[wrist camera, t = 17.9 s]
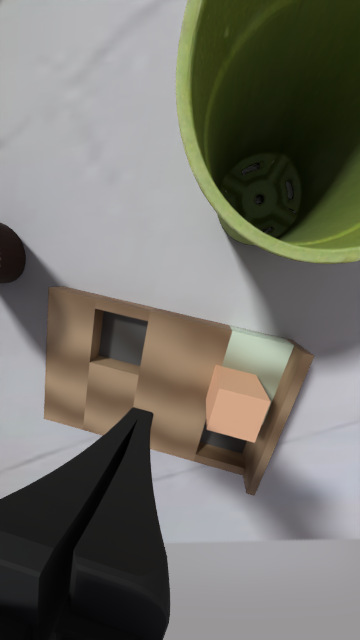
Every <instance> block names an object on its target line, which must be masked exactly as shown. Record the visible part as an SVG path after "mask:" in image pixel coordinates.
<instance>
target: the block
mask: <svg viewBox="0 0 360 640" xmlns="http://www.w3.org/2000/svg"><path fill="white" fill-rule="evenodd" d="M270 402H271V401H270V399H269V397H268V396H267V394H266V392H265V390H264V388H263V386H262V385H261V383H260V381H259V379H258V377H257V375H255V374H251V373H247V372H243V371H239V370H235V369H231V368H227V367H223V366H218V365H215V369H214V372H213V376H212V379H211V383H210V386H209V390H208V393H207V397H206V423H207V430H210V431H213V432H217V433H221V434H224V435H228V436H232V437H235V438H239V439H243V440H246V441H250V442H254V443H255V441H256V438H257V436H258V433H259V431H260V428H261V425H262V423H263V420H264V418H265V415H266V413H267V410H268V408H269V405H270Z"/></svg>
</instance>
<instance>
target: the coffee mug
mask: <svg viewBox="0 0 360 640" xmlns="http://www.w3.org/2000/svg"><path fill="white" fill-rule="evenodd" d="M25 260H26V257H25V251H24V247H23V244H22V242H21V240H20V239H19V237H18V236H17V234H16V233H15V232H14V231H13V230H12V229H11V228H9V227H8V226H6V225H4V224H2V223H0V284H1V283H8V282H12V281H14V280H16V279H17V278H19V277H20V275H21V274H22V272H23V270H24V267H25Z"/></svg>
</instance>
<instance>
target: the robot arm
mask: <svg viewBox="0 0 360 640" xmlns="http://www.w3.org/2000/svg"><path fill="white" fill-rule="evenodd" d="M153 416H154V414H153V412H149V411H146V410H142V409H138V408H135V407H133V408H131V409H130V410H129V411H128V412H127V414H126V415H125V416H124V417H123V418H122V419H121V420H120V421H119V422H118V423H117V424H115V425H114V426H113V427H112V428H111V429H110V430H109V431H108V432H107V433H106V434H104V435H103V436H102V437H101V438H100V439H98V440H97V441H96V442H95V443H93V444H92V445H91V446H90V447H88V448H87V449H86V450H84V451H83V452H81V453H80V454H79V455H77V456H76V457H74V458H73V459H71V460H70V461H68V462H67V463H65V464H64V465H62V466H61V467H59V468H58V469H56V470H54V471H53V472H51V473H49V474H47V475H46V476H44V477H42V478H40V479H39V480H37V481H35V482H33V483H31V484H30V485H28V486H26V487H24V488H22V489H20V490H18V491H16V492H14V493H12V494H10V495H8V496H6V497H4V498H2V499H0V640H163V638H164V635H165V632H166V629H167V626H168V623H169V617H170V588H169V575H168V563H167V555H166V551H165V547H164V543H163V539H162V534H161V530H160V525H159V521H158V516H157V510H156V504H155V498H154V492H153V484H152V475H151V463H150V432H151V426H152V421H153Z"/></svg>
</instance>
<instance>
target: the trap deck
mask: <svg viewBox="0 0 360 640" xmlns="http://www.w3.org/2000/svg"><path fill="white" fill-rule="evenodd" d="M313 358H314V355H313V354H311V353H310V352H308V351H307V350H306V349H304V348H303V347H301V346H300V345H298V344H297V343H296V342H294V341H293V340H289V339H285V338H280V337H276V336H272V335H268V334H263V333H259V332H255V331H251V330H246V329H242V328H238V327H234V326H229V325H225V324H221V323H217V322H212V321H208V320H204V319H200V318H195V317H191V316H187V315H183V314H178V313H174V312H170V311H166V310H161V309H157V308H153V307H149V306H144V305H140V304H136V303H132V302H127V301H123V300H119V299H115V298H110V297H106V296H102V295H98V294H93V293H89V292H85V291H81V290H76V289H72V288H68V287H64V286H62V287H49V293H48V321H47V349H46V377H45V405H44V419H47V420H51V421H54V422H58V423H61V424H65V425H68V426H72V427H75V428H79V429H82V430H86V431H89V432H93V433H96V434H100V435H104V434H106V433H107V432H108V431H109V430H110V429H111V428H112V427H113V426H114V425H115V424H117V423H118V422H119V421H120V420H121V419H122V418H123V417H124V416H125V415H126V414H127V412H128V411H129V410H130V409H131V408H133V407H135V408H138V409H142V410H146V411H149V412H153V414H154V416H153V421H152V426H151V432H150V449H152V450H156V451H159V452H163V453H166V454H170V455H173V456H177V457H180V458H184V459H187V460H191V461H194V462H198V463H201V464H205V465H208V466H212V467H216V468H219V469H223V470H226V471H230V472H233V473H237V474H240V475H243V478H244V483H245V488H246V493H247V494H251V495H255V493H256V491H257V488H258V486H259V484H260V481H261V479H262V477H263V474H264V472H265V470H266V467H267V465H268V463H269V460H270V458H271V456H272V453H273V451H274V449H275V446H276V444H277V442H278V439H279V437H280V435H281V432H282V430H283V428H284V425H285V423H286V421H287V418H288V416H289V414H290V411H291V409H292V407H293V404H294V402H295V400H296V397H297V395H298V393H299V390H300V388H301V386H302V383H303V381H304V379H305V376H306V374H307V372H308V369H309V367H310V365H311V362H312V360H313ZM215 365H218V366H223V367H227V368H231V369H235V370H239V371H243V372H247V373H251V374H255V375H257V377H258V379H259V381H260V383H261V385H262V386H263V388H264V390H265V392H266V394H267V396H268V397H269V399H270V401H271V402H270V405H269V408H268V410H267V413H266V415H265V418H264V420H263V423H262V425H261V428H260V431H259V433H258V436H257V438H256V441H255V443H254V442H250V441H246V440H243V439H239V438H235V437H232V436H228V435H224V434H221V433H217V432H213V431H210V430H207V423H206V397H207V393H208V390H209V386H210V383H211V379H212V376H213V372H214V369H215Z"/></svg>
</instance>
